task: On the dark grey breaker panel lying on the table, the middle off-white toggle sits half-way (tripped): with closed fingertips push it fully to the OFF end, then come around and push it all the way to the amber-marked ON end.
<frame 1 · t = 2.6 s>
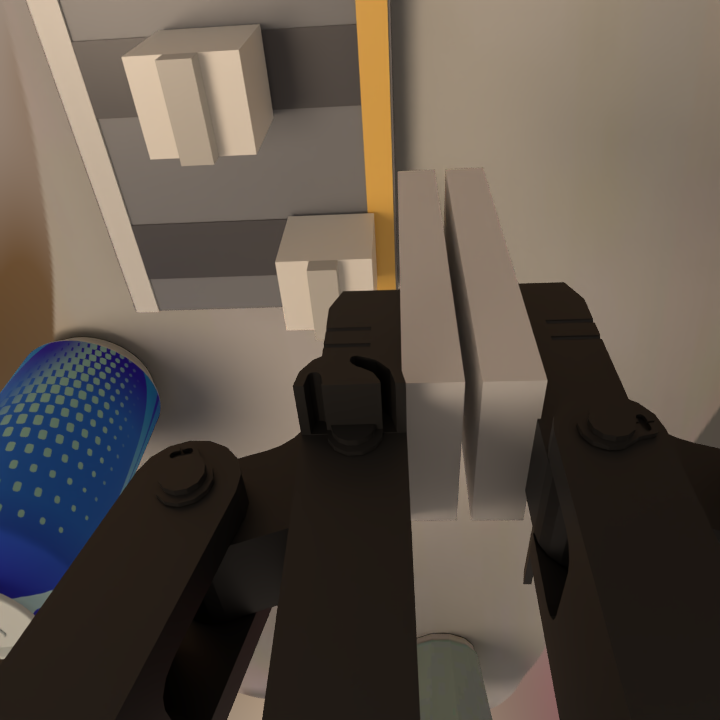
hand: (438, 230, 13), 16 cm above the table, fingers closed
panel: (230, 61, 26), on the table
beer can: (101, 377, 39), on the table
tripped breaker: (203, 93, 23), point 5 cm above the table, slide at 0.0 cm
disposable coffee cup: (438, 645, 59), on the table
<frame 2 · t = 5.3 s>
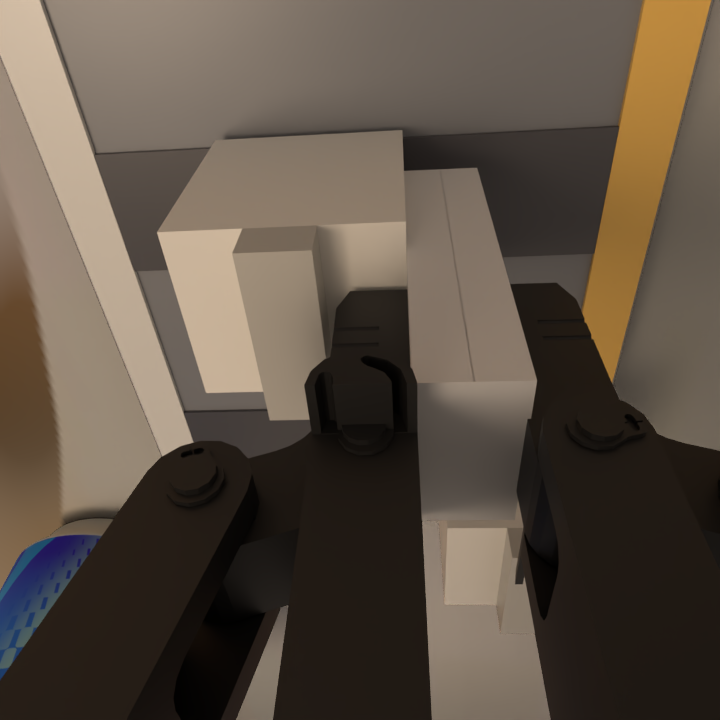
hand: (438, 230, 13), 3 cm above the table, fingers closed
panel: (357, 170, 16), on the table
beer can: (126, 559, 28), on the table
tripped breaker: (305, 267, 12), point 5 cm above the table, slide at -0.8 cm, touching gripper
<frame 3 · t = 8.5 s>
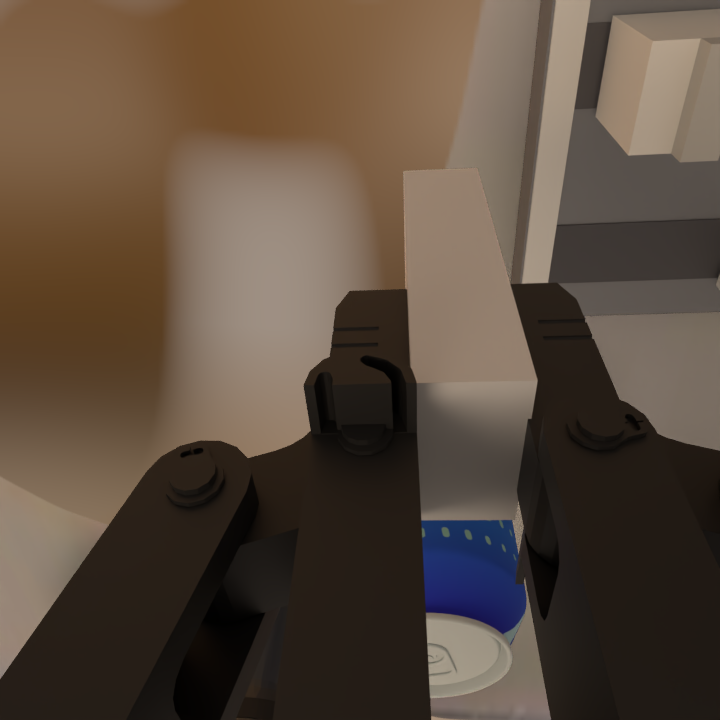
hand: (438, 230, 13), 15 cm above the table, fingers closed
panel: (713, 46, 24), on the table
beer can: (414, 388, 36), on the table
tripped breaker: (684, 83, 21), point 5 cm above the table, slide at -2.9 cm
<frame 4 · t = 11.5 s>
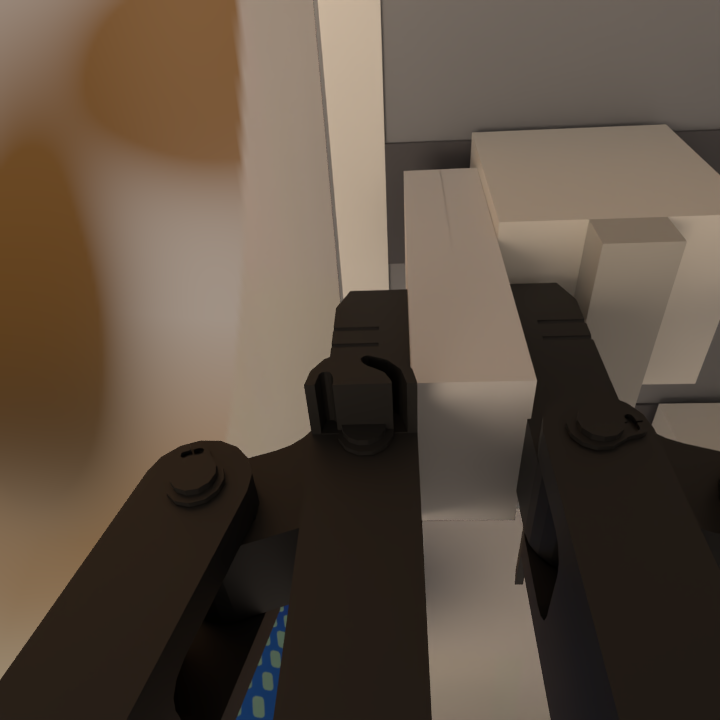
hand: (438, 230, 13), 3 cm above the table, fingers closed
panel: (609, 164, 16), on the table
beer can: (260, 557, 28), on the table
tripped breaker: (582, 261, 12), point 5 cm above the table, slide at -1.8 cm, touching gripper
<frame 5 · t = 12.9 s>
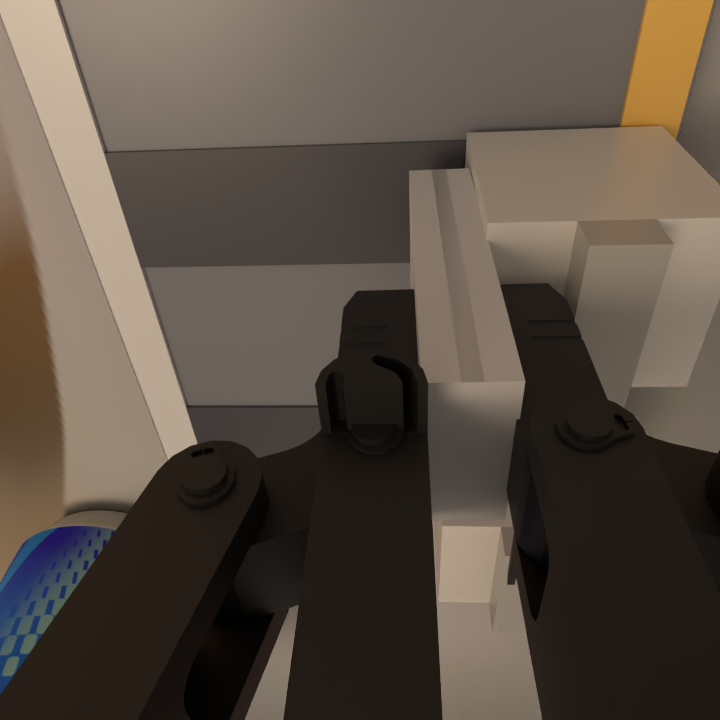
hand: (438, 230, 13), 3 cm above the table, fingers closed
panel: (361, 173, 16), on the table
beer can: (126, 551, 28), on the table
tripped breaker: (574, 262, 12), point 5 cm above the table, slide at 4.5 cm, touching gripper
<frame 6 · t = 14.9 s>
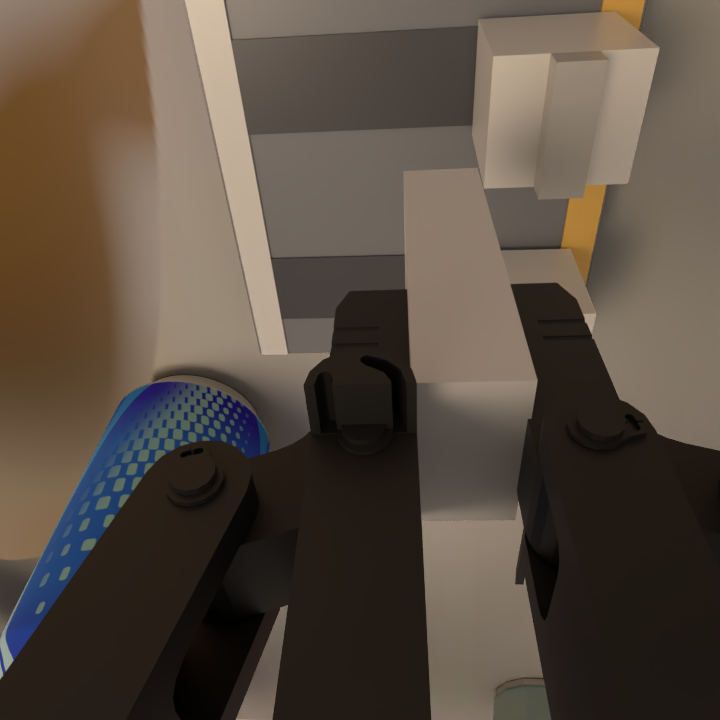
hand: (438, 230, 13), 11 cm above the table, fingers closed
panel: (410, 63, 21), on the table
beer can: (199, 417, 34), on the table
tripped breaker: (553, 102, 17), point 5 cm above the table, slide at 4.0 cm
disposable coffee cup: (527, 688, 55), on the table
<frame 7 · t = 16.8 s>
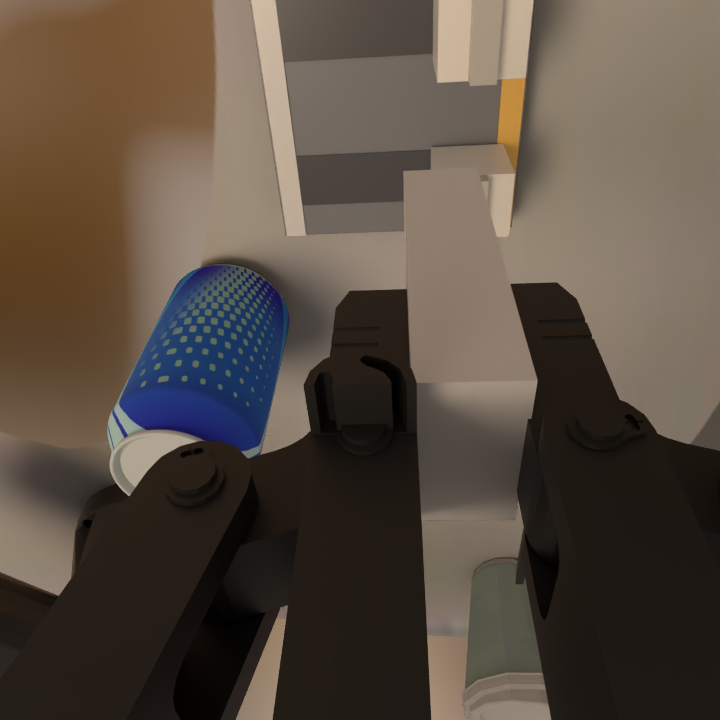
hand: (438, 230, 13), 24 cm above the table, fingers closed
panel: (391, 15, 32), on the table
beer can: (234, 304, 44), on the table
tripped breaker: (479, 29, 28), point 5 cm above the table, slide at 4.0 cm
disposable coffee cup: (500, 571, 65), on the table
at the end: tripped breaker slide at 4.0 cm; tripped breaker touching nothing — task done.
